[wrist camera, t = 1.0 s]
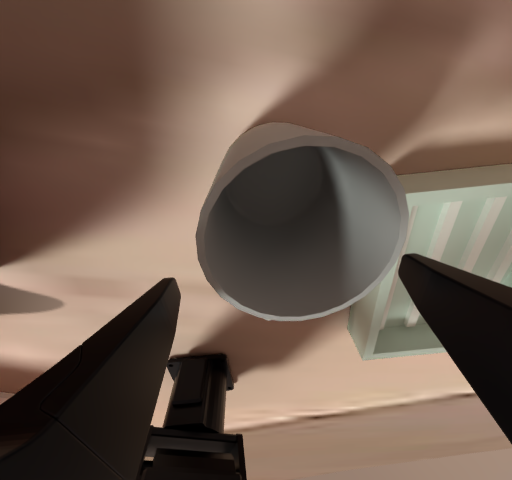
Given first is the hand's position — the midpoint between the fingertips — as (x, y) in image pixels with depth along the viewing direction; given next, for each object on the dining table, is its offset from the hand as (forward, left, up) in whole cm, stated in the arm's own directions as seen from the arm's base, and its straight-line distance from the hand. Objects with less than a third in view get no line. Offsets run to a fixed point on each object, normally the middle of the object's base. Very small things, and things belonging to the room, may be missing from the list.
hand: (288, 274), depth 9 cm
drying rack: (-7, -14, -8) cm, 18 cm away
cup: (0, 0, -9) cm, 9 cm away
